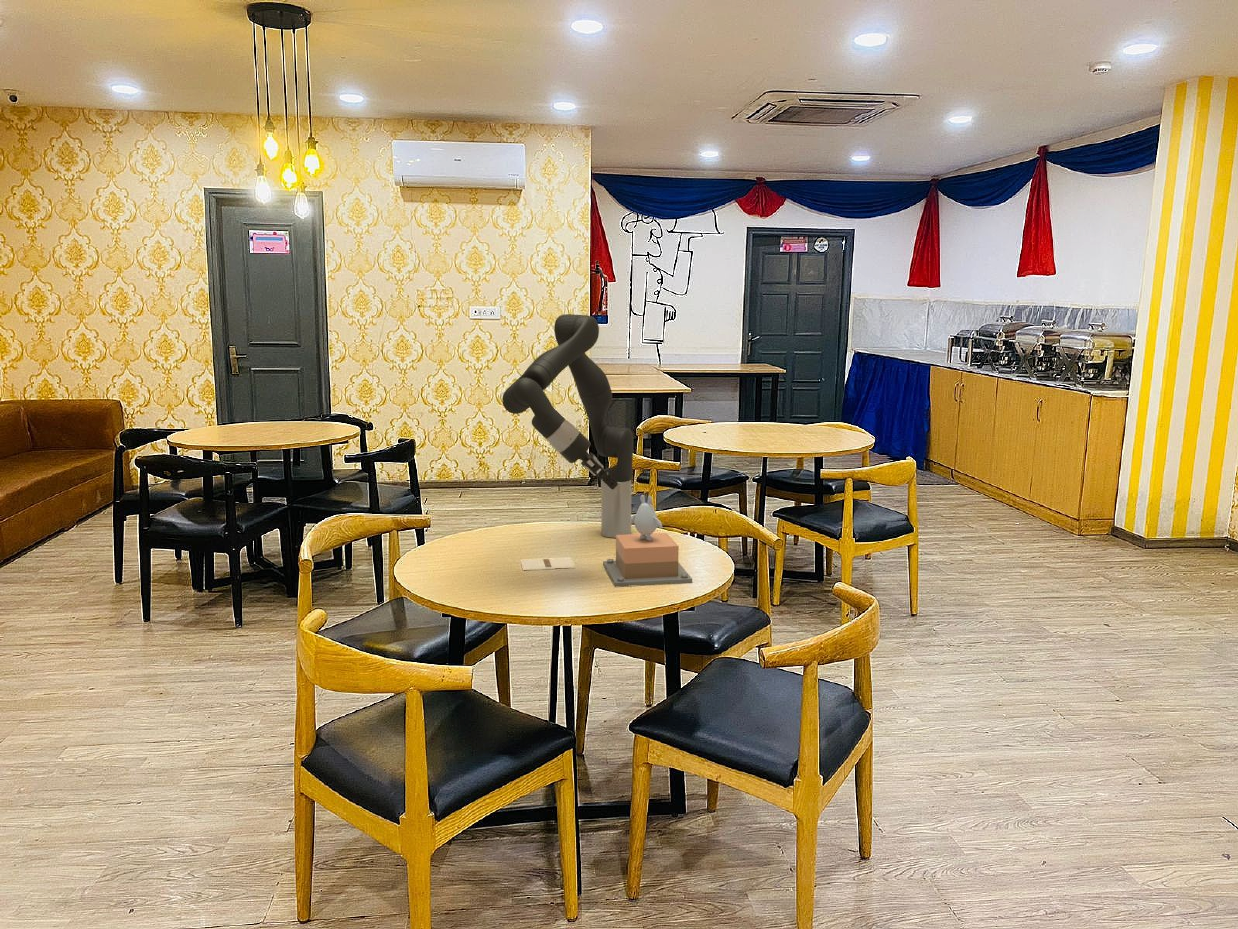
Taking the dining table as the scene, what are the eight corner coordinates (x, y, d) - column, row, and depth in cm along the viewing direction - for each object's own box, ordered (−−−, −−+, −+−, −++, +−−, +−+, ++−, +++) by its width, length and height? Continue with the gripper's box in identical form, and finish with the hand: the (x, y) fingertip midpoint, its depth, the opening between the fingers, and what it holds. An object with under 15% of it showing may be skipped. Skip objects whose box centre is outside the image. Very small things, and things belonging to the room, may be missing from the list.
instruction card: (520, 560, 255) (520, 559, 255) (570, 558, 258) (570, 556, 258) (522, 570, 246) (522, 569, 246) (574, 568, 248) (574, 566, 248)
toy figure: (669, 541, 241) (669, 496, 239) (654, 545, 236) (655, 500, 234) (637, 534, 248) (637, 490, 245) (623, 539, 243) (622, 494, 241)
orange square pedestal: (603, 564, 251) (603, 532, 250) (674, 561, 254) (674, 529, 253) (615, 586, 232) (615, 552, 230) (692, 582, 235) (692, 548, 233)
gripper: (582, 434, 226) (627, 478, 230) (574, 426, 240) (618, 468, 244) (560, 456, 226) (606, 499, 230) (554, 447, 240) (598, 488, 244)
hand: (612, 483), depth 237 cm, fingers open, 8 cm apart
